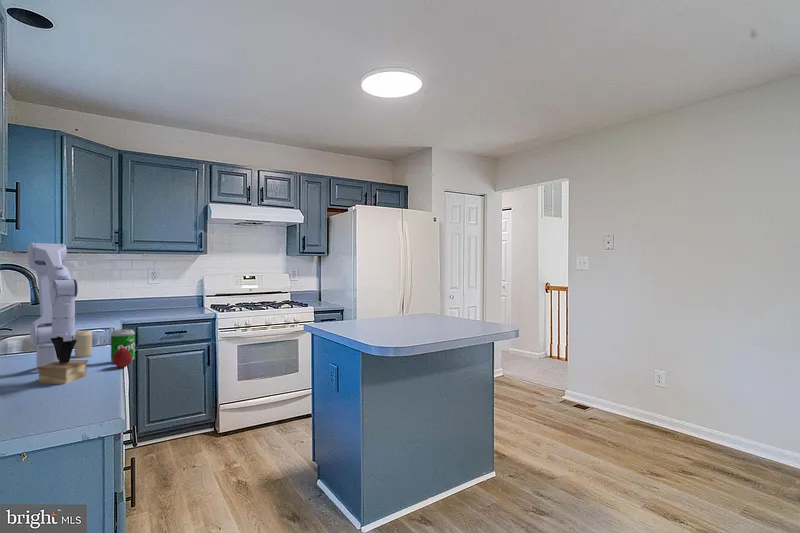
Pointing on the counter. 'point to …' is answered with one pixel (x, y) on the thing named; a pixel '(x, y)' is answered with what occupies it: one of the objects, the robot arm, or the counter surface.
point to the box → (61, 375)
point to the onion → (122, 357)
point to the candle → (83, 344)
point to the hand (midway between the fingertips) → (63, 361)
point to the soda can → (123, 341)
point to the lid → (63, 364)
